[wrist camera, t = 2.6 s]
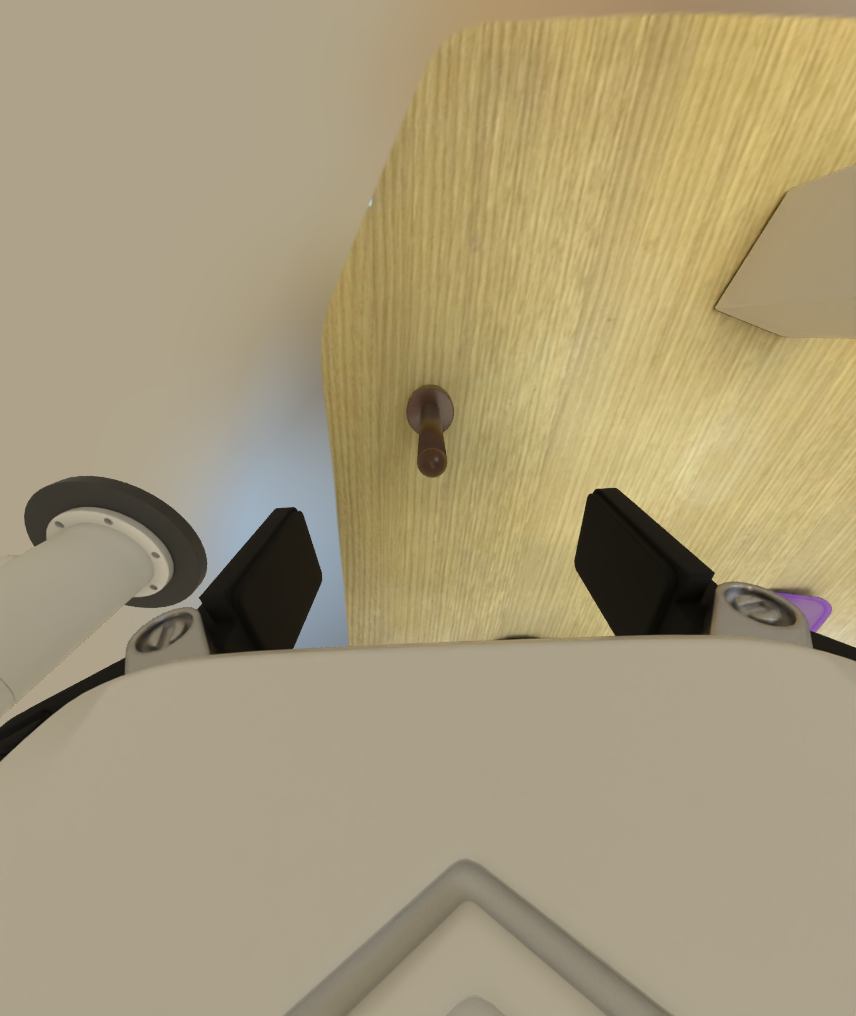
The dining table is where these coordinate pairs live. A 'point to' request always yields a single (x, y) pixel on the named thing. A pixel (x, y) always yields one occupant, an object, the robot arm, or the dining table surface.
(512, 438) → the dining table surface
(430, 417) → the brown wooden pestle
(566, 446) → the dining table surface
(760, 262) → the milk carton
